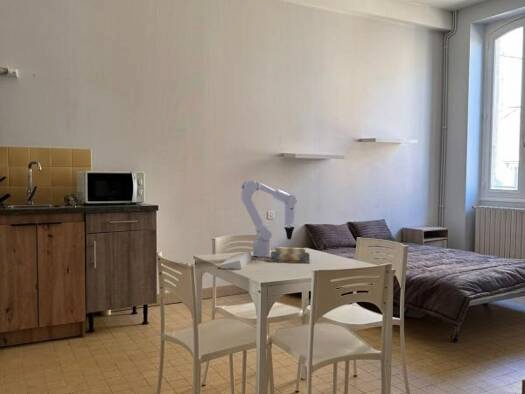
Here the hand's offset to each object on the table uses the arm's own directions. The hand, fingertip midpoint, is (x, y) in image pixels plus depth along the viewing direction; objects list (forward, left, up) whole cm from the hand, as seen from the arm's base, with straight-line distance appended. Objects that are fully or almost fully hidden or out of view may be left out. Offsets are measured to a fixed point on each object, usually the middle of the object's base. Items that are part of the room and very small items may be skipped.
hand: (289, 239), depth 294 cm
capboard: (+2, -20, -9) cm, 22 cm away
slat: (+2, -20, -8) cm, 22 cm away
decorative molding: (-24, -35, -10) cm, 44 cm away
